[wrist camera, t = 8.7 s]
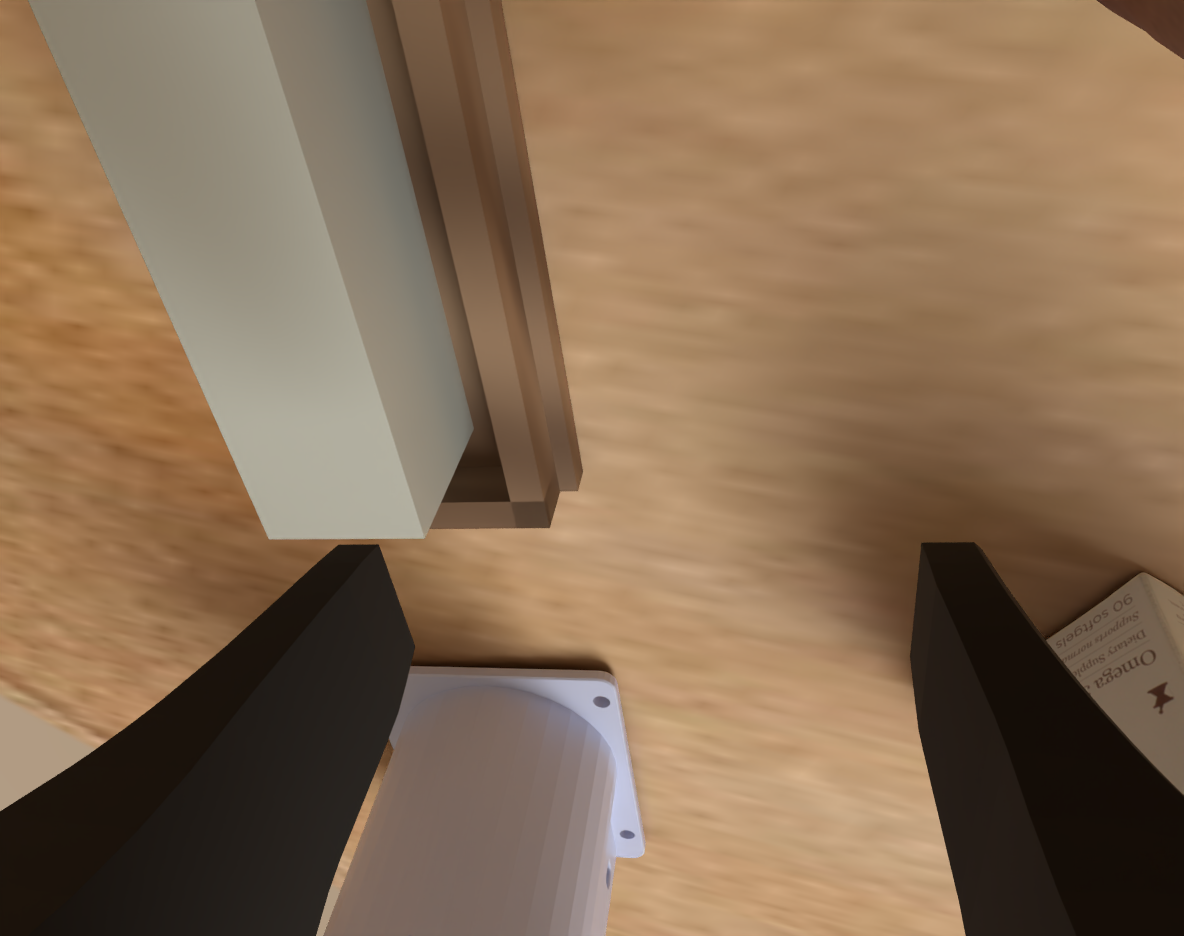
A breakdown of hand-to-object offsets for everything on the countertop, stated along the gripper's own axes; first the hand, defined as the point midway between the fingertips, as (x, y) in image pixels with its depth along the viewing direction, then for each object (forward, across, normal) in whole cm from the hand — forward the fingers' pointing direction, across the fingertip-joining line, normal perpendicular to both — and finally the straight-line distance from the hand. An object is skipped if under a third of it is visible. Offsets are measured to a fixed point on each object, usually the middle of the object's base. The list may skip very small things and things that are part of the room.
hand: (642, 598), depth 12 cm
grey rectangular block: (+9, +7, -3) cm, 12 cm away
